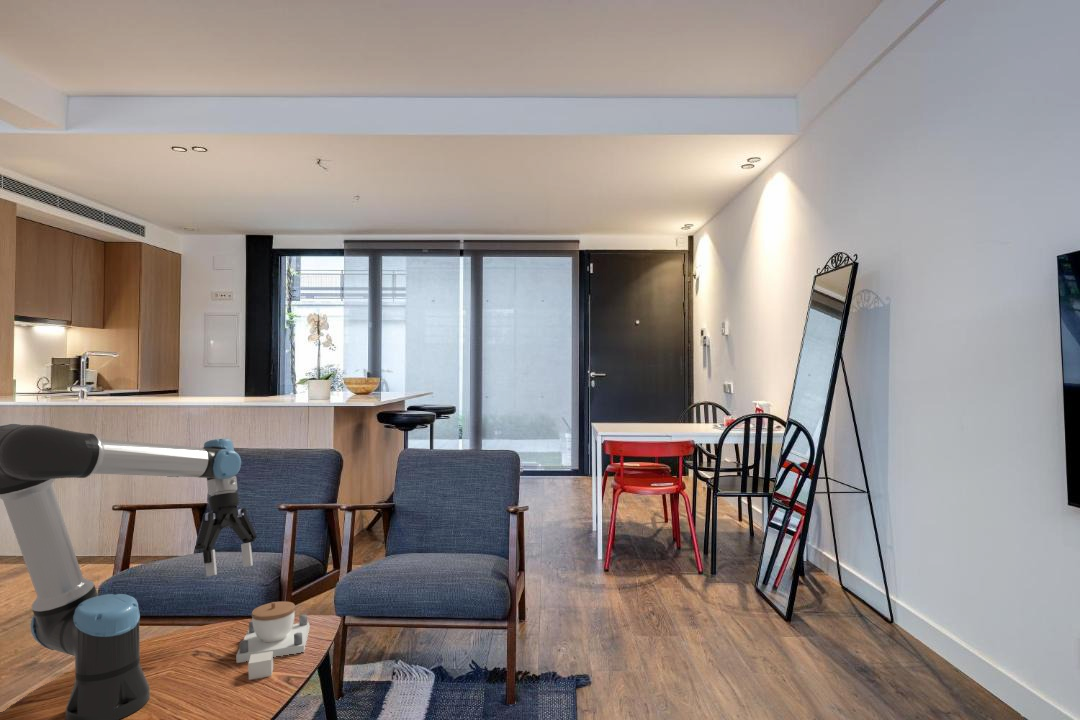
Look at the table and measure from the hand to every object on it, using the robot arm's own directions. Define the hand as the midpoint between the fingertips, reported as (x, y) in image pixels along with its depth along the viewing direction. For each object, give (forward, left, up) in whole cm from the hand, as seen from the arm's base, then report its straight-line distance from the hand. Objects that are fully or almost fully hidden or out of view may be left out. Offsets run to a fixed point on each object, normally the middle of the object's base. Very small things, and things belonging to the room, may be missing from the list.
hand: (230, 570), depth 169 cm
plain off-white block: (+11, -24, -19) cm, 33 cm away
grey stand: (+12, -8, -19) cm, 24 cm away
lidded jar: (+12, -8, -17) cm, 22 cm away
